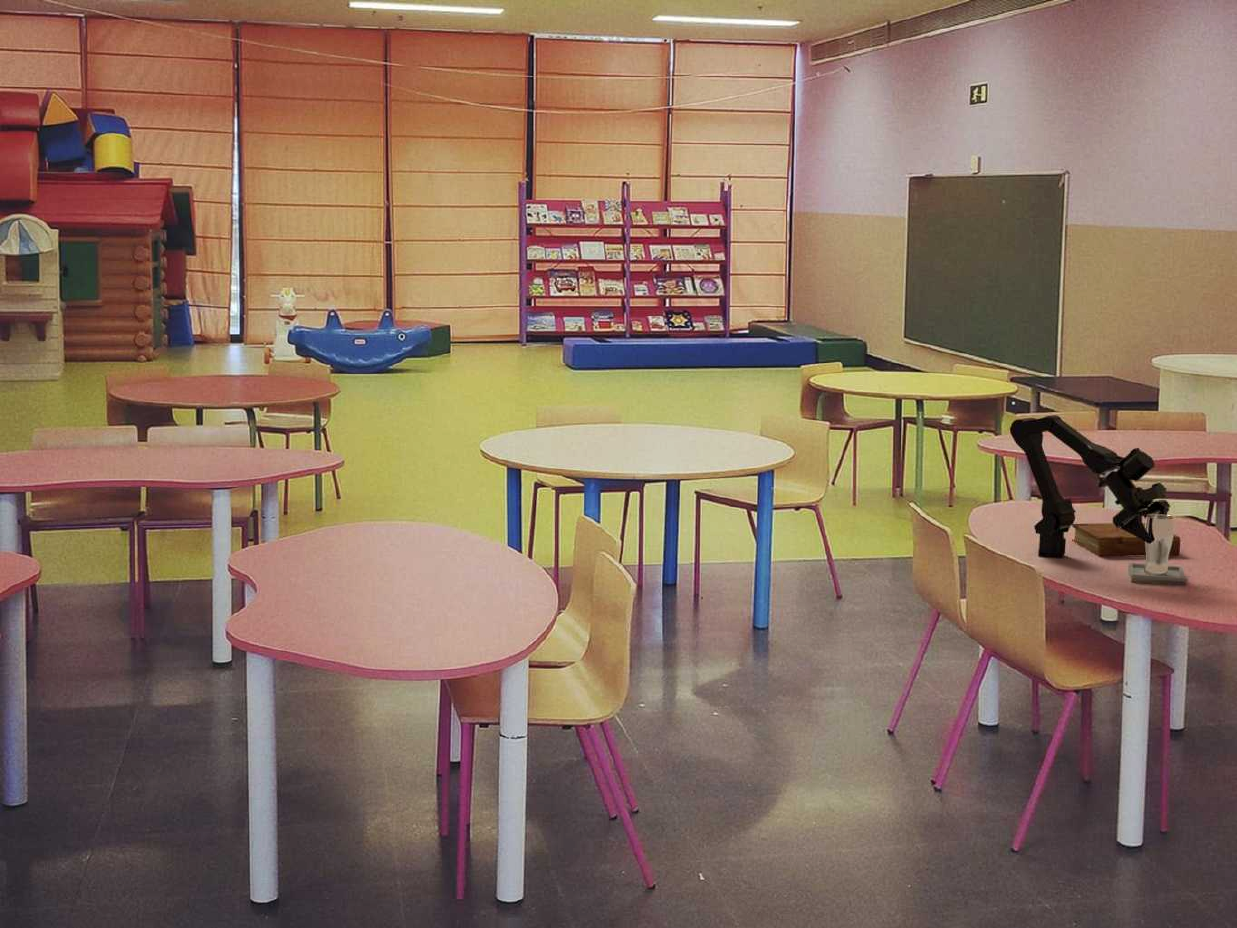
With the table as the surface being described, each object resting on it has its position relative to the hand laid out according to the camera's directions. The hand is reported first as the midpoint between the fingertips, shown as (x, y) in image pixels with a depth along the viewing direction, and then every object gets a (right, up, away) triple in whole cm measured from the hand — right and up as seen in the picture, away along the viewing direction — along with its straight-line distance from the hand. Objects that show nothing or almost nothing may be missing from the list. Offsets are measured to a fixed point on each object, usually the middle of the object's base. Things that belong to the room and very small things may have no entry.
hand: (1160, 540), depth 356 cm
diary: (+3, -5, +35) cm, 36 cm away
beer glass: (-1, -9, +2) cm, 9 cm away
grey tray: (0, -10, +2) cm, 10 cm away
